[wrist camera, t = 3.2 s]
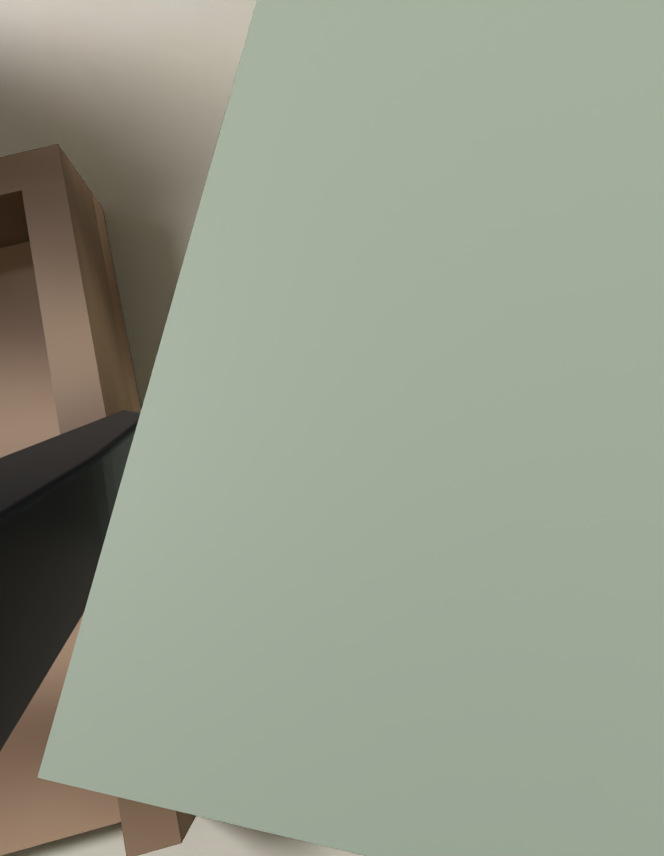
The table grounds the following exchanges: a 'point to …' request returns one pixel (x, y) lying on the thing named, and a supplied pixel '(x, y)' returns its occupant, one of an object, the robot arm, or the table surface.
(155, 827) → the wooden serving tray
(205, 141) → the table surface
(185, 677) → the sage box
